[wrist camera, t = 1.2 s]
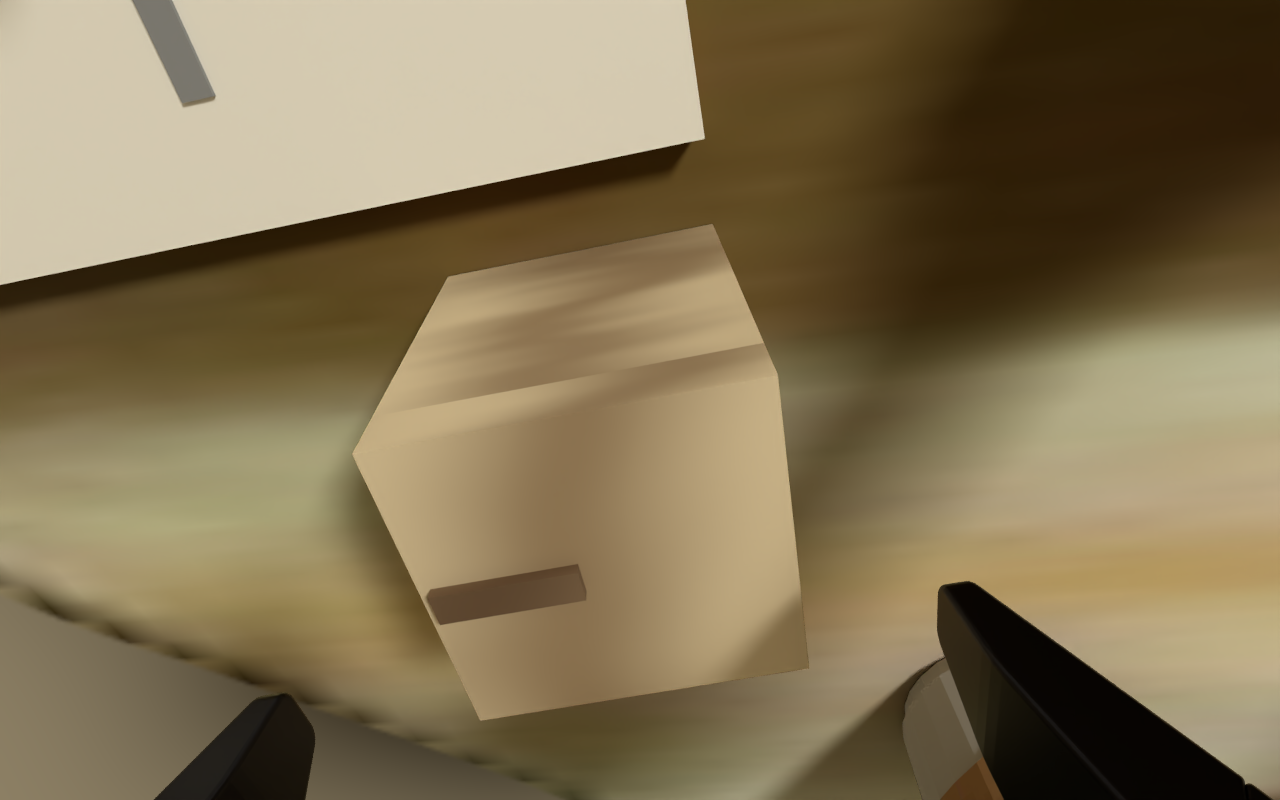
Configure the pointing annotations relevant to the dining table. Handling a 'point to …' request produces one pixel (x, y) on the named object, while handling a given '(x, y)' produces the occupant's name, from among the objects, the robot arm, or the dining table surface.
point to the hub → (308, 110)
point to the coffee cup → (944, 741)
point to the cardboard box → (593, 478)
